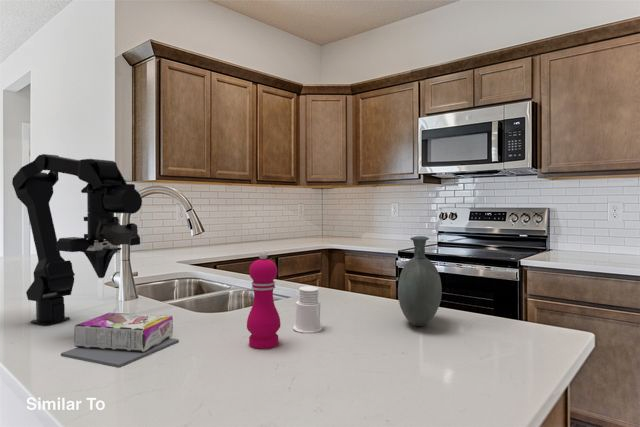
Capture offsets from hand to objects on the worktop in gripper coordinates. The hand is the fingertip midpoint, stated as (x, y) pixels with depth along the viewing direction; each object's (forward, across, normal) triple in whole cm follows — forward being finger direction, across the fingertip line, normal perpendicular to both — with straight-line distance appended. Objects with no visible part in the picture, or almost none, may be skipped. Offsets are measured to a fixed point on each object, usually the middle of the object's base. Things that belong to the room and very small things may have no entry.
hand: (101, 277), depth 105 cm
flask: (+12, +37, -68) cm, 78 cm away
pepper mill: (+12, +8, -41) cm, 43 cm away
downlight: (+12, +22, -44) cm, 51 cm away
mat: (+12, -7, -16) cm, 21 cm away
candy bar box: (+10, -7, -6) cm, 13 cm away
